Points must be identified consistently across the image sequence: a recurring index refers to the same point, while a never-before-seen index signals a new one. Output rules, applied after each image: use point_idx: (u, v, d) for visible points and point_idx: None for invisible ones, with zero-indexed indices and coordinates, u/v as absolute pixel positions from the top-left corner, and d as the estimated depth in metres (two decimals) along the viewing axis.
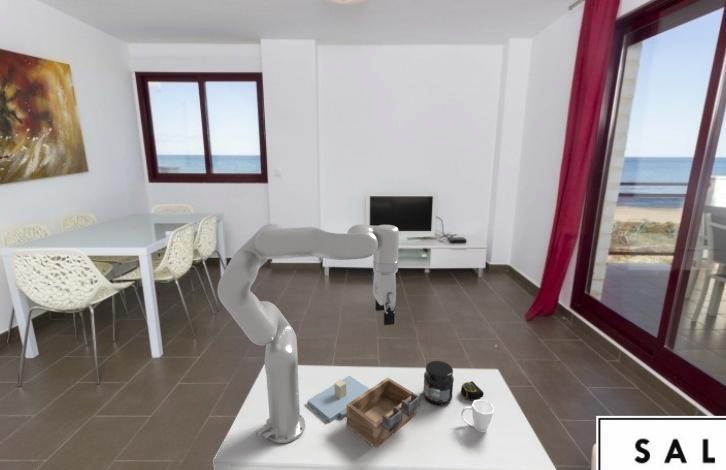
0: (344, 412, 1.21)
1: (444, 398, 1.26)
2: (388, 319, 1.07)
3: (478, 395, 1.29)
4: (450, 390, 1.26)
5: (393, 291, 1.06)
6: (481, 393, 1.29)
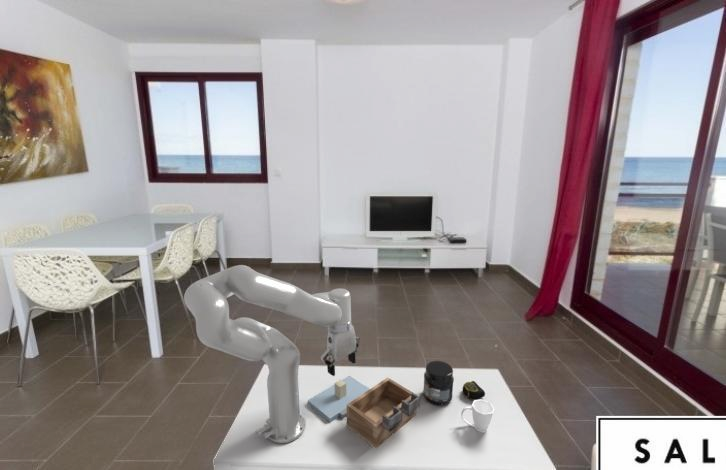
0: (344, 412, 1.21)
1: (444, 398, 1.26)
2: None
3: (479, 395, 1.29)
4: (450, 390, 1.26)
5: None
6: (482, 393, 1.29)
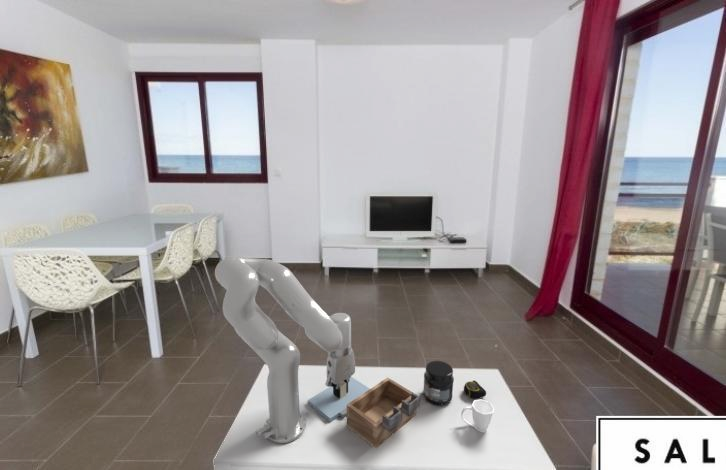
0: (344, 412, 1.21)
1: (444, 398, 1.26)
2: None
3: (481, 394, 1.29)
4: (450, 390, 1.26)
5: None
6: (484, 392, 1.30)
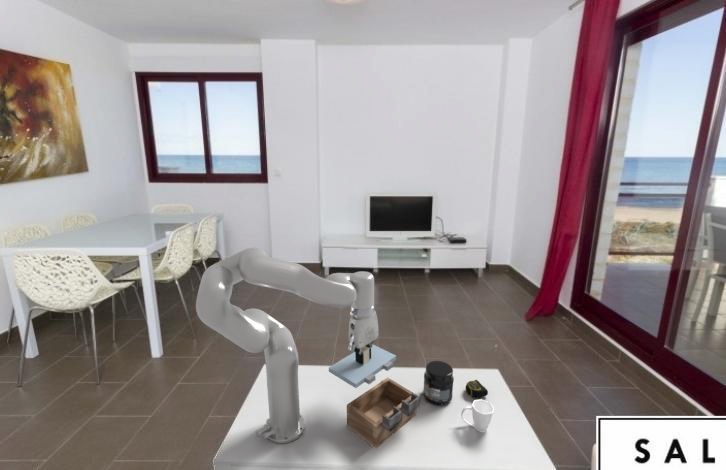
0: (370, 377, 1.12)
1: (444, 398, 1.26)
2: None
3: (482, 393, 1.30)
4: (450, 390, 1.26)
5: None
6: (485, 391, 1.30)
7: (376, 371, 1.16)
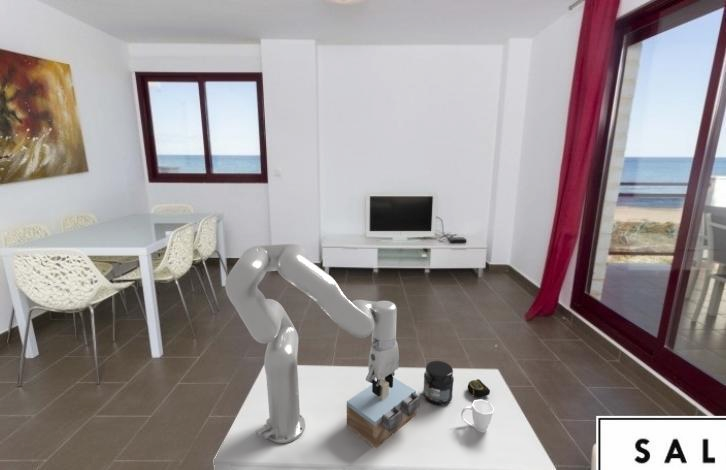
0: (389, 415, 1.09)
1: (444, 398, 1.26)
2: None
3: (485, 393, 1.30)
4: (450, 390, 1.26)
5: None
6: (487, 391, 1.30)
7: None
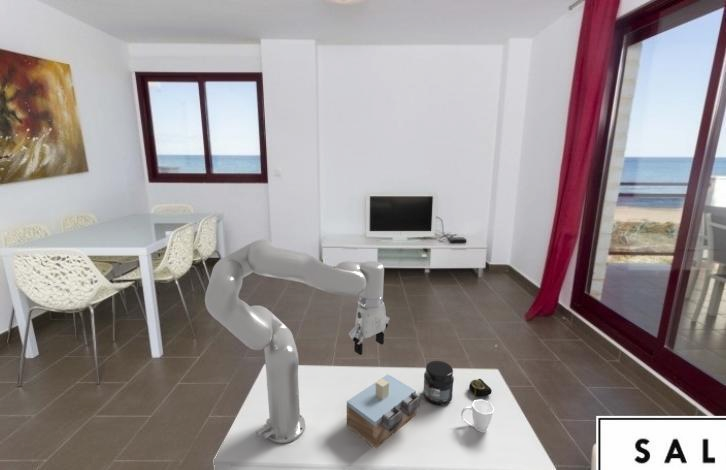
0: (389, 415, 1.09)
1: (444, 398, 1.26)
2: None
3: (486, 392, 1.30)
4: (450, 390, 1.26)
5: None
6: (489, 390, 1.31)
7: None
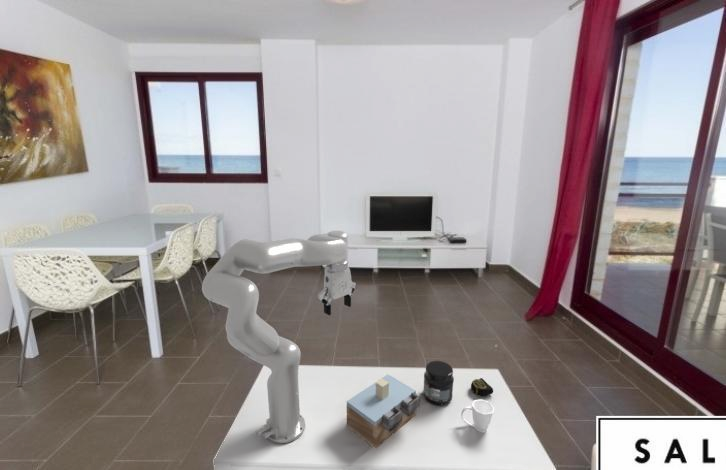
0: (389, 415, 1.09)
1: (444, 398, 1.26)
2: None
3: (488, 392, 1.31)
4: (450, 390, 1.26)
5: None
6: (491, 390, 1.31)
7: None
